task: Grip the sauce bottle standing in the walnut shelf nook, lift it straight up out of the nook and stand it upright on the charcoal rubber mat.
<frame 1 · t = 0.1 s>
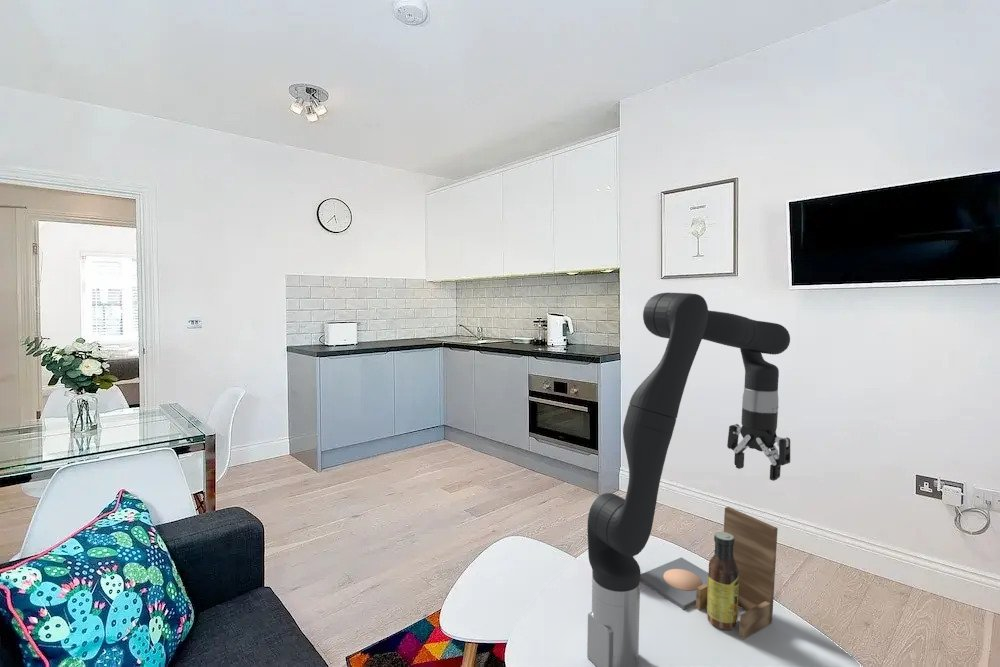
hand: (756, 473, 121), 29 cm above the table, tool pointing down, fingers open, 8 cm apart
sauce bottle: (721, 622, 113), on the table
shelf nook: (721, 621, 113), on the table
mat: (682, 583, 127), on the table
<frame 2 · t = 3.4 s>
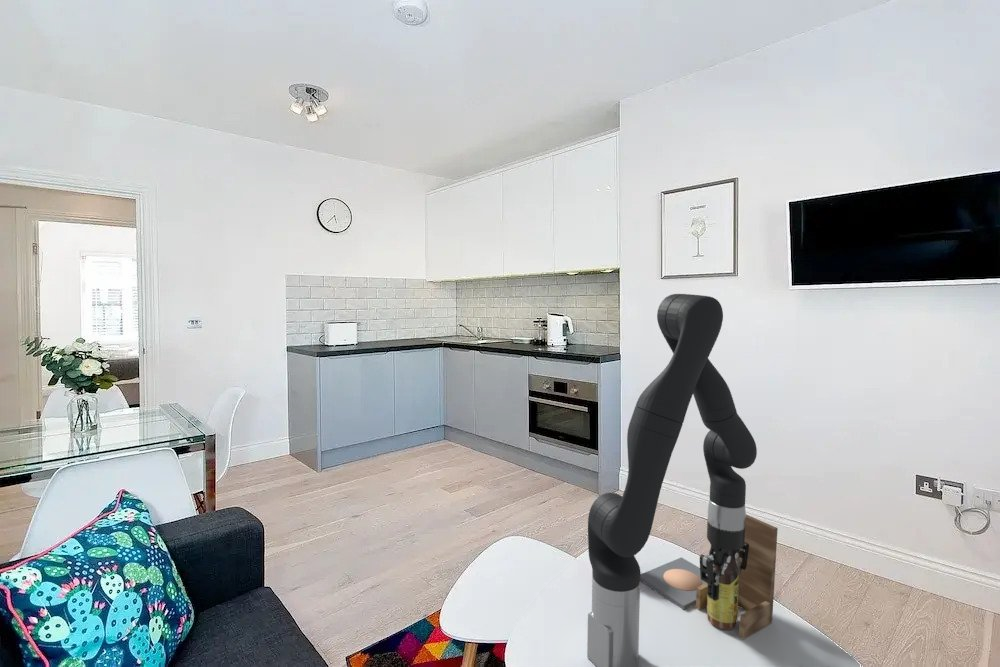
hand: (723, 593, 112), 7 cm above the table, tool pointing down, fingers closed on sauce bottle, 6 cm apart
sauce bottle: (721, 622, 113), on the table, touching gripper
everything else where it was.
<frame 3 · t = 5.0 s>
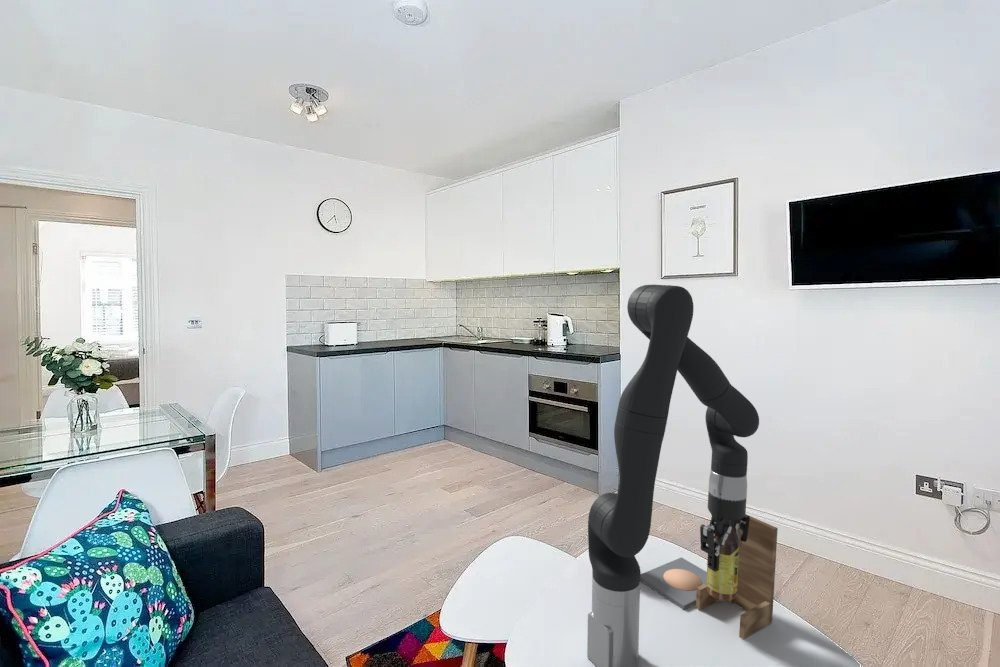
hand: (723, 564, 111), 13 cm above the table, tool pointing down, fingers closed on sauce bottle, 6 cm apart
sauce bottle: (720, 594, 112), point 6 cm above the table, touching gripper
everything else where it was.
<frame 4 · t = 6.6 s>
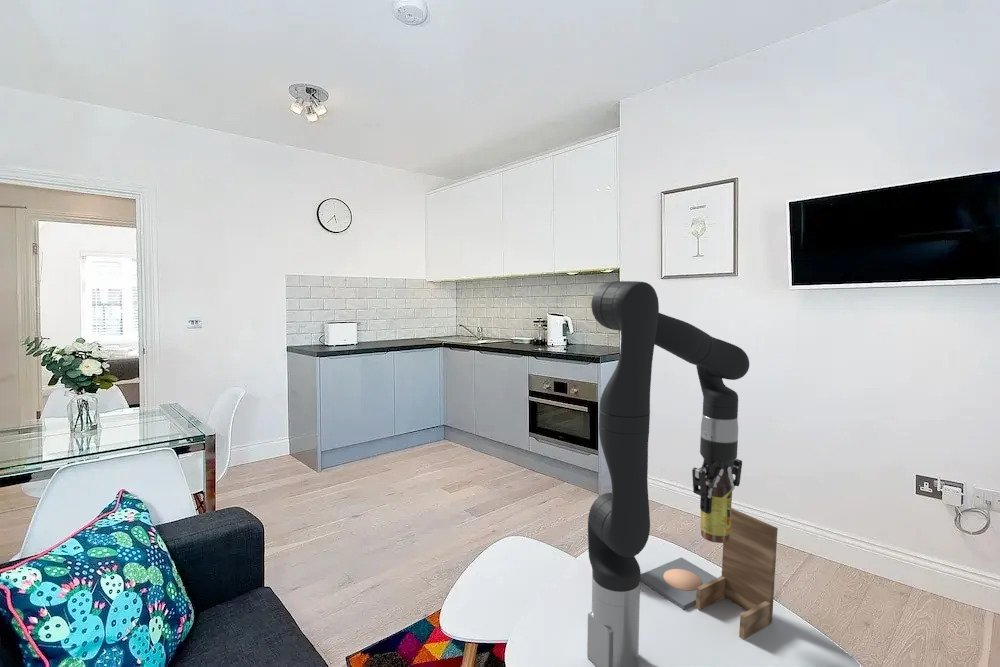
hand: (716, 508, 113), 25 cm above the table, tool pointing down, fingers closed on sauce bottle, 6 cm apart
sauce bottle: (714, 537, 114), point 18 cm above the table, touching gripper
everything else where it was.
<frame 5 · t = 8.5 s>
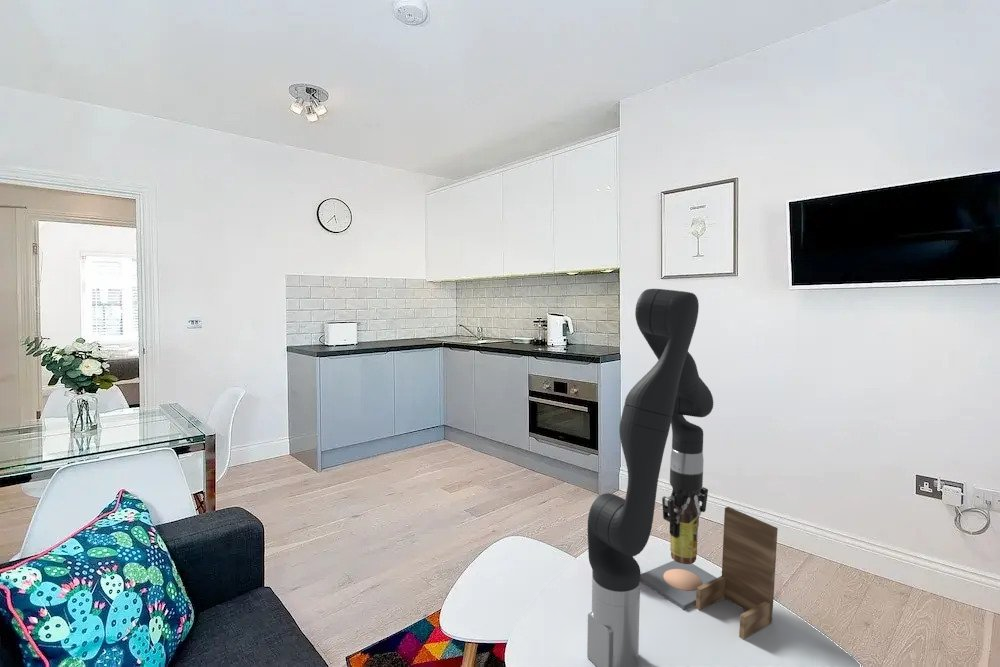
hand: (684, 532, 125), 13 cm above the table, tool pointing down, fingers closed on sauce bottle, 6 cm apart
sauce bottle: (683, 559, 126), point 7 cm above the table, touching gripper
everything else where it was.
when the fingers open (9 cm above the table, at t = 9.9 s): sauce bottle drops 1 cm, resting on mat.
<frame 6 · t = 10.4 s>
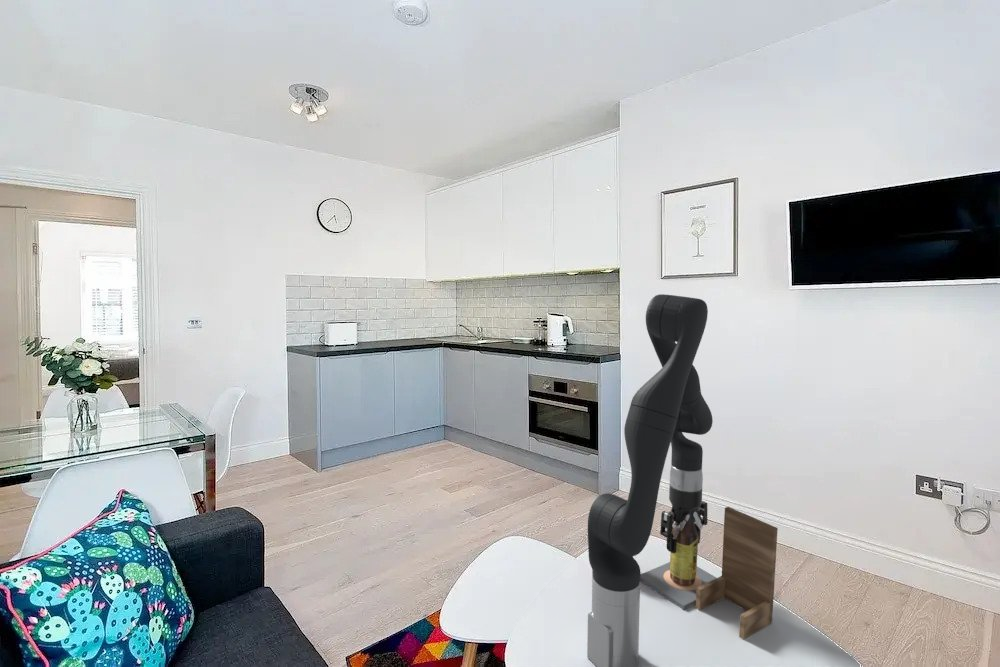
hand: (683, 546, 125), 10 cm above the table, tool pointing down, fingers open, 8 cm apart
sauce bottle: (682, 580, 126), point 1 cm above the table, touching mat
everything else where it was.
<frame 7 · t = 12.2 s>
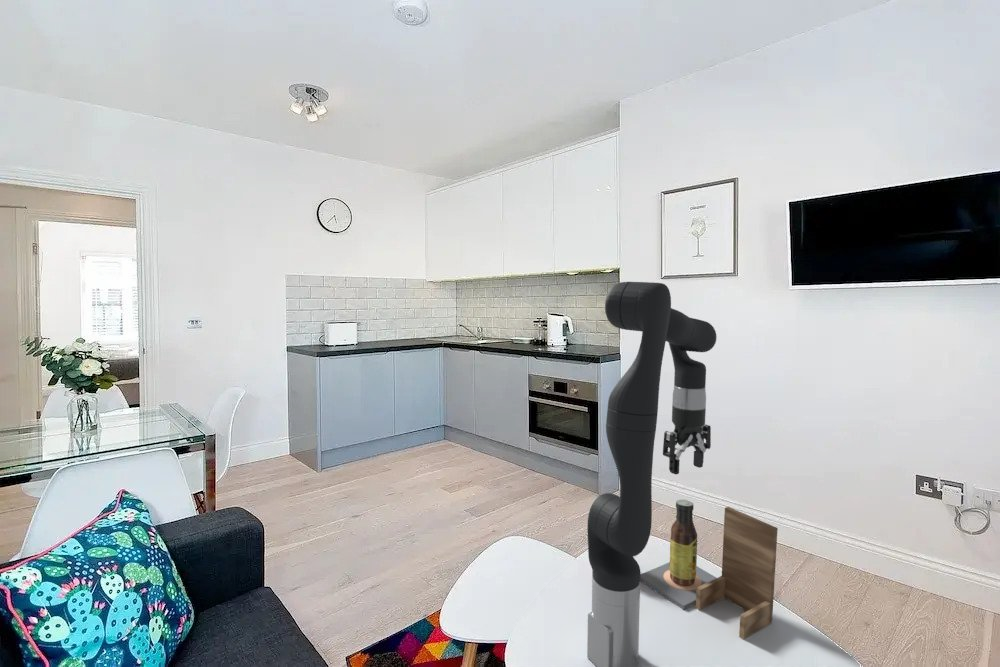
hand: (686, 469, 123), 29 cm above the table, tool pointing down, fingers open, 8 cm apart
nothing on the table moved.
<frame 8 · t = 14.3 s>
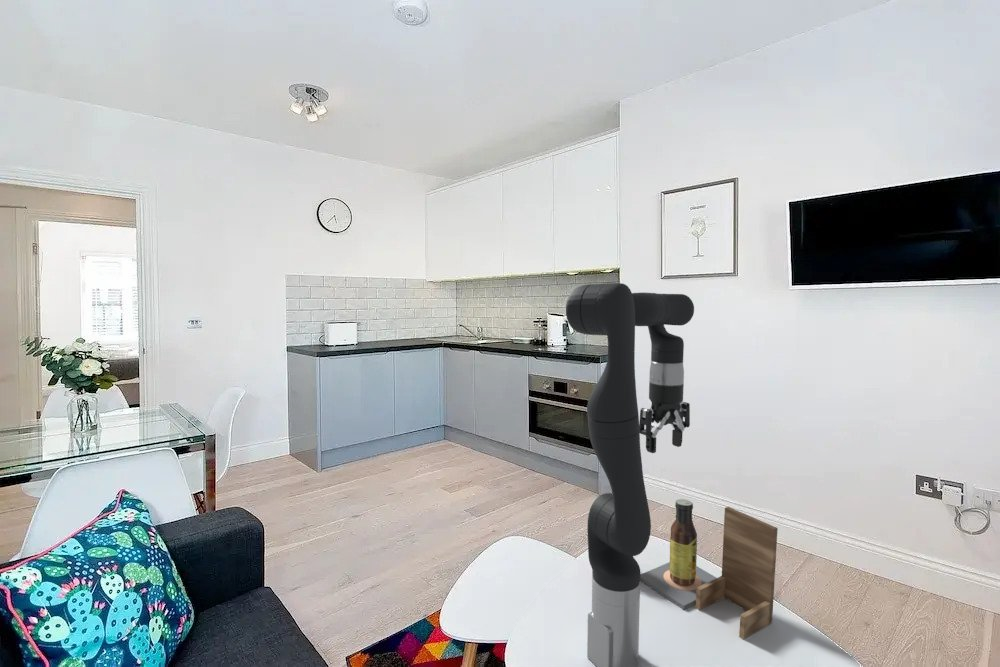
hand: (664, 448, 119), 36 cm above the table, tool pointing down, fingers open, 8 cm apart
nothing on the table moved.
at the end: sauce bottle inside the target area on the mat (0.1 cm from its centre), point 0.9 cm above the mat's base; sauce bottle tilted 1°; the gripper is holding nothing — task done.
